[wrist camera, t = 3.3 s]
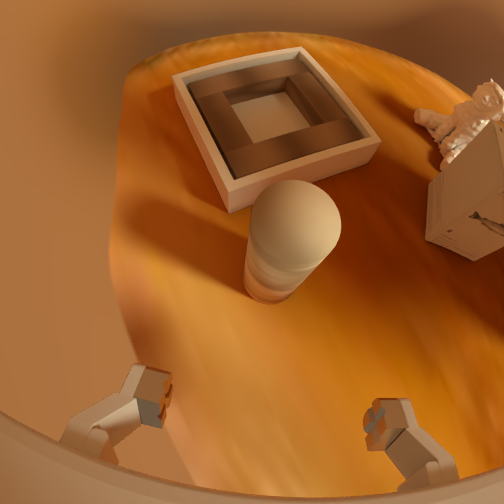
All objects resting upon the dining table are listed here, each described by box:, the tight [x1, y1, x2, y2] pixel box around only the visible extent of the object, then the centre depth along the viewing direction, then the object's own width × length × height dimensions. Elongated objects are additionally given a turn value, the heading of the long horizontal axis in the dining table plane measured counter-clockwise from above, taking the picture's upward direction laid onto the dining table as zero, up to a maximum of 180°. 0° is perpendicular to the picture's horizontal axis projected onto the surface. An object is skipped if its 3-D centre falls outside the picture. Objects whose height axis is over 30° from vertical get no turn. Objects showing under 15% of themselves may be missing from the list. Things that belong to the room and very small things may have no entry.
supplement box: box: [425, 119, 504, 261], centre depth 23 cm, size 7×7×13 cm
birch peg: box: [243, 180, 341, 304], centre depth 21 cm, size 4×4×12 cm
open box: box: [172, 47, 382, 214], centre depth 29 cm, size 16×16×4 cm
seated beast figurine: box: [414, 79, 504, 171], centre depth 28 cm, size 10×9×12 cm
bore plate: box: [188, 58, 362, 180], centre depth 29 cm, size 13×13×2 cm
